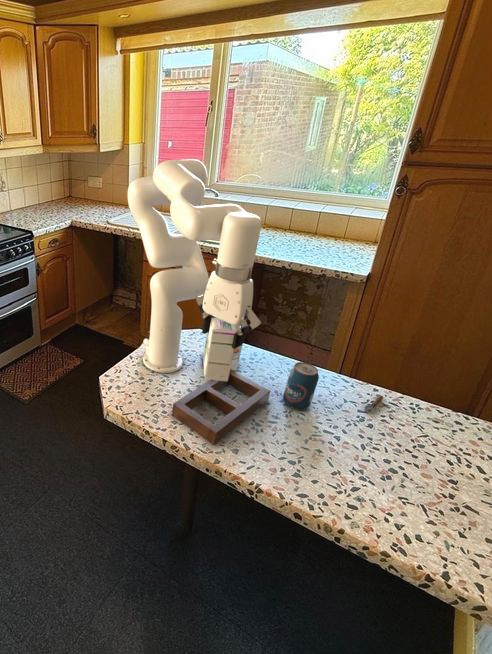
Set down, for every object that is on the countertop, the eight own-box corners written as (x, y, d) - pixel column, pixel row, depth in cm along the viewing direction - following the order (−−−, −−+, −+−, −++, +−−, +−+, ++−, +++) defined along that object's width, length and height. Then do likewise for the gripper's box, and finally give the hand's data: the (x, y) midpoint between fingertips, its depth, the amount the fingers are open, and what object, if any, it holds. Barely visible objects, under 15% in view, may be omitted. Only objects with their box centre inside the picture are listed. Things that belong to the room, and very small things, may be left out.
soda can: (277, 402, 111) (287, 367, 106) (289, 392, 115) (298, 357, 110) (302, 415, 107) (314, 379, 101) (313, 404, 111) (325, 369, 105)
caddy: (171, 415, 107) (173, 403, 105) (226, 378, 121) (228, 368, 119) (213, 445, 97) (216, 433, 96) (267, 402, 112) (270, 390, 110)
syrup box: (228, 382, 97) (238, 331, 90) (203, 379, 98) (212, 328, 91) (226, 368, 101) (236, 319, 95) (202, 365, 103) (210, 316, 96)
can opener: (378, 397, 113) (379, 394, 113) (387, 402, 111) (388, 399, 111) (361, 409, 109) (362, 406, 108) (370, 414, 107) (371, 411, 107)
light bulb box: (202, 366, 127) (207, 337, 122) (202, 354, 132) (207, 326, 127) (237, 371, 124) (243, 342, 119) (236, 359, 130) (241, 330, 125)
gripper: (190, 263, 91) (182, 329, 99) (260, 288, 79) (245, 361, 87) (210, 255, 95) (201, 320, 103) (280, 278, 83) (263, 349, 91)
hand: (221, 338), depth 95 cm, fingers closed on syrup box, 7 cm apart
